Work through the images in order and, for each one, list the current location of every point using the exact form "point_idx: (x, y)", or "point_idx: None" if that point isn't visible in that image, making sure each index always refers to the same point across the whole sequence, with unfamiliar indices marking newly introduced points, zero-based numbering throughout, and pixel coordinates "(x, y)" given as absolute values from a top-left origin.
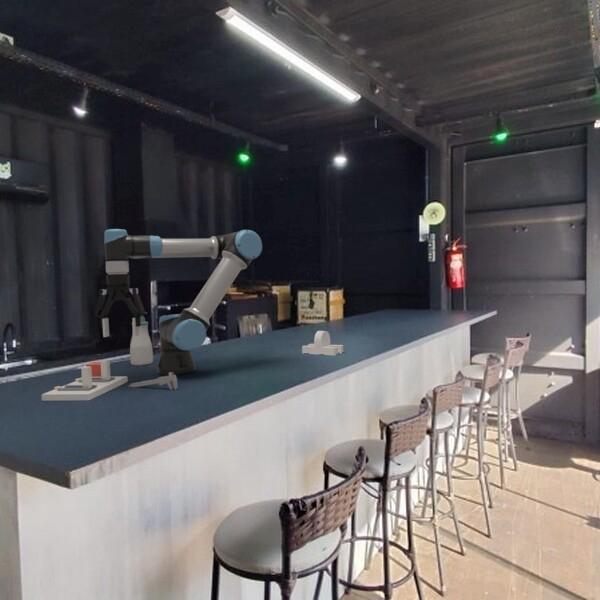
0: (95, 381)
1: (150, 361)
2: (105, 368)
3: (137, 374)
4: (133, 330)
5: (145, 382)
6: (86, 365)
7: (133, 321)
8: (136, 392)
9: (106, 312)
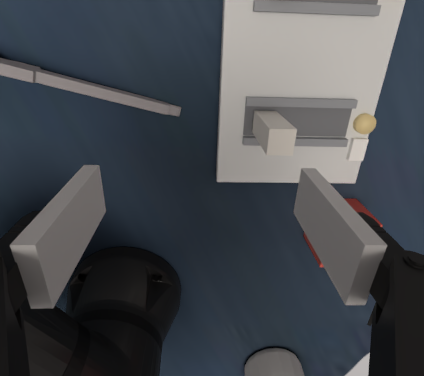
0: (293, 98)
1: (246, 366)
2: (268, 121)
3: (229, 260)
4: (80, 182)
5: (101, 87)
6: (379, 223)
7: (42, 221)
8: (103, 14)
9: (382, 328)
